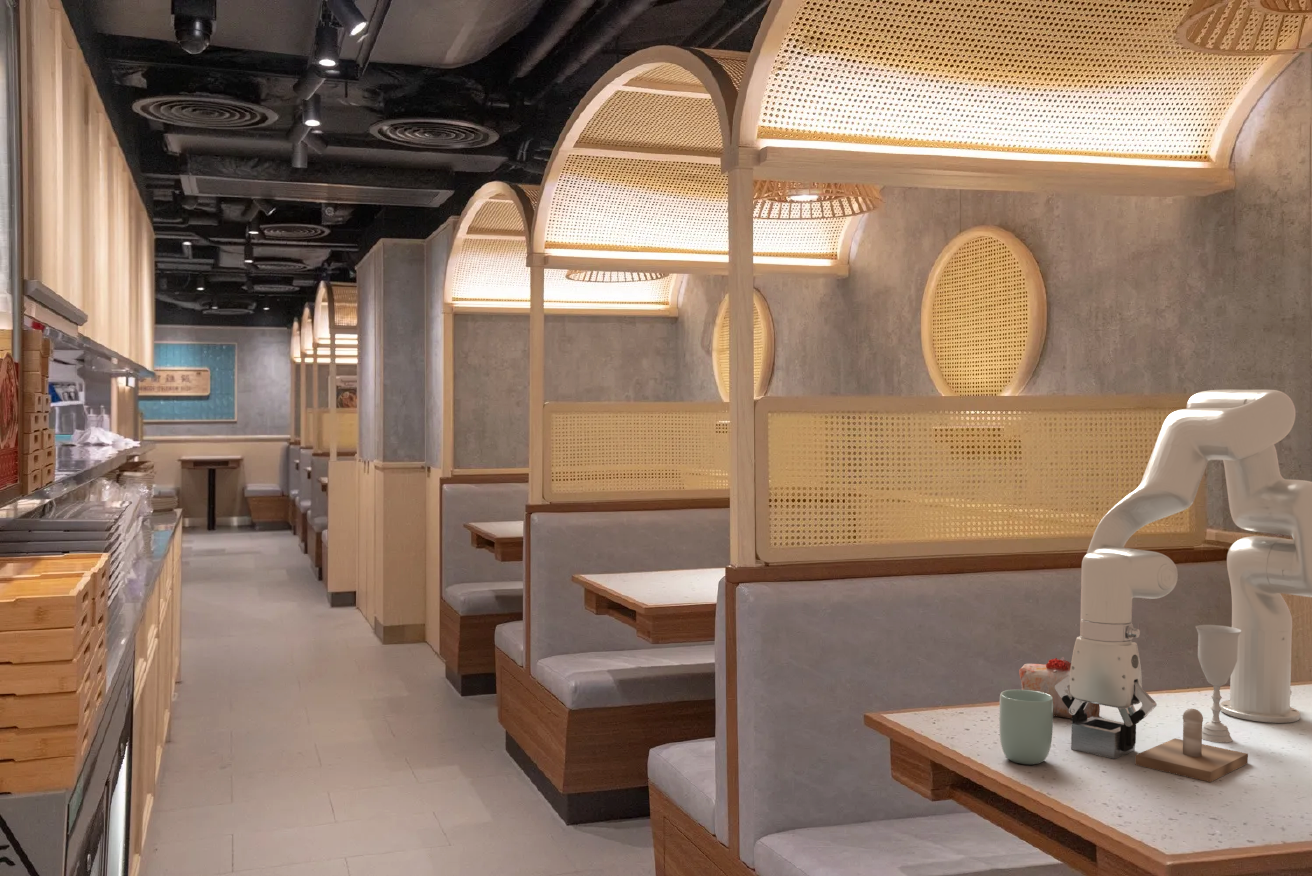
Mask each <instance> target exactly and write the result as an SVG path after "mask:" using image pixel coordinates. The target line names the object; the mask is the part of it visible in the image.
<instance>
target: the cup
mask: <svg viewBox="0 0 1312 876" xmlns="http://www.w3.org/2000/svg"><path fill="white" fill-rule="evenodd" d="M998 711H999V713H998V715H999V716H998V717H999V718H998V722H999V724H998V725H999V727H998V729H999V730H998V731H999V741H1000V746H1001V750H1002V752H1003V754H1004V756H1005V757H1006V758H1007V759H1008V760H1010V762H1014V763H1017V764H1021V765H1038V764H1042V763H1043V762H1044V761H1045V760H1046V759H1047V757H1048V756H1049V754H1050V751H1051V747H1052V741H1053V728H1054V716H1053V697H1052V696H1051V695H1049V694H1047V693H1043V692H1038V691H1031V690H1021V689H1006V690H1003V691H1001V692H1000V695H999V710H998Z"/></svg>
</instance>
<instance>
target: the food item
mask: <svg viewBox="0 0 1312 876" xmlns="http://www.w3.org/2000/svg"><path fill="white" fill-rule="evenodd" d="M1070 669H1071V661H1068V660H1066V659H1065V657H1064V656H1062V657H1060V659H1059V658H1057V657H1055V658H1051V659H1048V662H1047V663H1046V664H1042V663H1025V664H1023V666H1022V667H1021V668H1019V670H1018V672H1019V673H1018V675H1019V680H1020V682H1021V689H1020V690H1031V691H1038V692H1043V693H1047V694H1049V695H1051V696H1052V697H1053V717H1059V718H1066V719H1071V720H1072V715H1071V714H1070V713H1069V709H1068V708H1067V706H1066V705H1065V704H1064V702H1063V701H1062V698H1061V697H1060V695H1059V694H1058V692H1057V691H1056V689H1055V685H1056V684H1058V683H1059V682H1061V681H1062V680H1063V679H1065V678H1066V677H1068V676H1069V675H1070ZM1068 691H1069V693H1070V686H1069V687H1068ZM1100 708H1101V705H1100V704H1095V703H1090V702H1088V704H1087V706H1086V707H1085V709H1084V713H1086V714H1087V718H1090V717H1092V716H1093V717H1098V718H1100V712H1101V711H1100Z"/></svg>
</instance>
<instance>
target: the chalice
mask: <svg viewBox="0 0 1312 876" xmlns="http://www.w3.org/2000/svg"><path fill="white" fill-rule="evenodd" d="M1195 629H1196V632H1197V634H1198V635H1197V636H1198V637H1197V638H1198V639H1197V640H1198V641H1197V658H1198V661H1199V664H1200V667H1201V670H1202V672H1203V674H1204V677H1205V679H1206V681H1207V683H1209V684H1211V685H1212V687H1213V693H1212V695H1211V699H1212V702H1213V703H1212V706H1211V707H1210V710H1211V711H1212V718H1211V719H1210V721H1207V722H1206V723H1205V724H1204V725H1203V726H1202V740H1205V741H1209V742H1214V743H1231V742H1232V741H1233V738H1232V737H1231V733H1230V731H1229V728H1228V726H1227V725H1226V724H1225V723H1222V721H1221V720H1220V713H1221V712H1222V711H1221V710H1222V709H1221V707H1220V703H1221V700H1222V699H1223V698H1222V696H1221V692H1220V689H1221V686H1224V685H1226V684H1227V683H1228V681H1229V679H1231V674H1232V672H1233V670H1234V668H1235V665H1236V663H1237V655H1238V636H1239V635H1240V633H1241V630H1240V629H1237V628H1233V627H1232V626H1227V625H1218V624H1217V625H1216V624H1199V625H1195Z"/></svg>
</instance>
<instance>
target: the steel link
mask: <svg viewBox="0 0 1312 876" xmlns="http://www.w3.org/2000/svg"><path fill="white" fill-rule="evenodd" d="M1122 725H1124V722H1122V721H1116V720H1114V719H1113V720H1111V719H1106V718H1102V717H1093V716H1092V717H1090V718H1087V719H1084V720H1082V721H1079V722H1075V723H1072V722H1071V738H1070V739H1071V741H1070V743H1071V746H1070V747H1071V748H1070V749H1071V750H1074V751H1077V752H1078V751H1079V752H1083V753H1086V754H1087V753H1088V754H1090V755H1091V754H1092V755H1095V754H1096V756H1100V757H1105V758H1108V759H1113V760H1115V759H1118V758H1120V757H1122V755H1123V756H1124V754H1125V755H1127V754H1129V753H1132V752H1135V751H1136V744H1135V745H1134V746H1133V749H1131V750H1128V751H1126V752H1124V751H1121V749H1120V748H1121V731H1120V730H1121V726H1122Z"/></svg>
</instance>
